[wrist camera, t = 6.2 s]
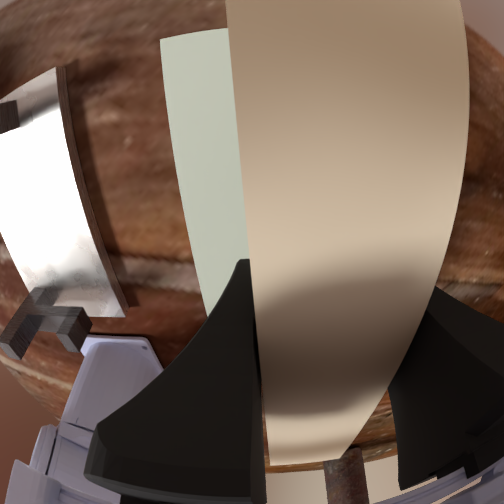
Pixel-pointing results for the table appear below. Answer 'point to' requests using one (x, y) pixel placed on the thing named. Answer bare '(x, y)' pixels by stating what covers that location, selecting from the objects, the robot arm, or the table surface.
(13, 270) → the table surface
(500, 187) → the table surface
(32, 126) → the hook stand
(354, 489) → the brown tall cylinder
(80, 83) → the table surface
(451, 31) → the rail
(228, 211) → the mat
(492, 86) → the table surface
